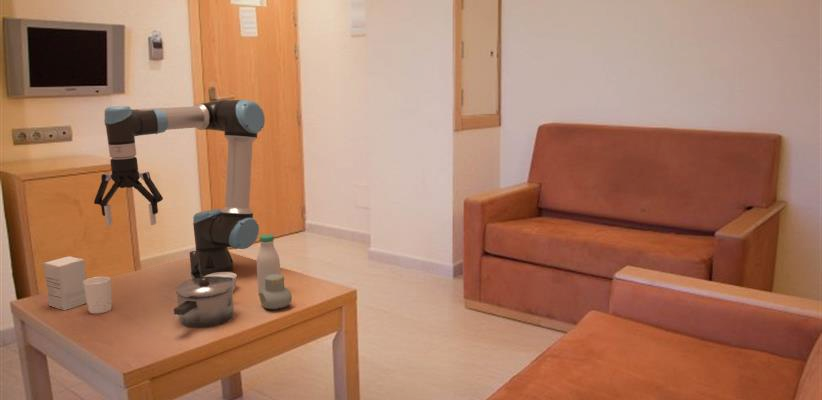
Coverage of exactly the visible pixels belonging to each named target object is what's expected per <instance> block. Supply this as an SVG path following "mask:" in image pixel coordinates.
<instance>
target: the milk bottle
mask: <svg viewBox="0 0 822 400" xmlns="http://www.w3.org/2000/svg"><path fill="white" fill-rule="evenodd" d="M274 239H275V238H274V235H273V234H263V235H260V236H259V243H260V247H259V251H258V252H257V256H256V273H257V275H256V276H257V289H258V290H257V291H258V294H259V295H260V293H261V292H262V291H263V290H265V289H266V287H265V277H266V276H268V275H272V274H280V275H282V273H281V263H280V257H279V254H278V252H277V250H276V248H275V246H274V242H275V240H274Z"/></svg>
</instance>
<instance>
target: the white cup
mask: <svg viewBox="0 0 822 400" xmlns="http://www.w3.org/2000/svg"><path fill="white" fill-rule="evenodd" d="M111 282H112V281H111V277H109V276H94V277H90V278H87V280H85V281H83V285H84V291H85V296H86V301H87V303H86V304H87V309H88V310H87V311H88V313H90V314H103V313H106V312H109V311H111V309H112V307H113V305H112V298H113V297H112V284H111Z"/></svg>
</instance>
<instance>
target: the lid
mask: <svg viewBox="0 0 822 400" xmlns="http://www.w3.org/2000/svg"><path fill="white" fill-rule="evenodd" d="M189 262H190V277H191V279H188V280H184V281H182V282H180V283H178V284H177V285H176V286H175V294H176V296H177V295H179V296H182V297H189V298H200V297H209V296H214V295H218V294H222V293H224V292H227V291H229V290H230V289H231V288H232V287H233V282H232V280H231V279H229V278H226V277H218V276H209V277H205V276H204V275H202V274H201V273H200V261H199V251H196V250H191V251H189Z"/></svg>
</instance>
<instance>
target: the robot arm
mask: <svg viewBox="0 0 822 400" xmlns="http://www.w3.org/2000/svg"><path fill="white" fill-rule="evenodd" d="M265 121H266V118H265V113H264V111H263V109H262V108H261V106H260V104H258V103H257V102H256V101H254V100H247V99H233V100H232V99H231V100H230V99H222V100H215V101H210V102H203V103H202V102H201V103H196V104H195V105H193V106H177V107H157V108H155V107H154V108H138V109H131V106H127V105H120V106H118V105H116V106H108V107H106V108H105V109H104V126H105V131H106V137H107V144H108V151H109V158H111V159H110V160H109V162H110V170H111V174H109V173H107V172H106V173H105V172H104V173H103V174H101V176H100V177H101V182H100V184H99V188H98V190H97V193H96V196H95V198H94V200H93V204H95V205H99V206H100V207H101V214H102V216H103V217H105V224H106V228H107V227H109V228H110V227H111V226H113V223H114V222H113V216H112V210H111V204H109V202H110V201H111V199H112V198H113V197H114V195H115V193H116V192H117V191H118V190H119V188H120V189H124V188H128V189H132V188H134V189H135V190H137V191H138V192H139V193H140V194H141V195H142V196H143V197H144V198H145V199H146V200H147V202H149V204H148V211H149V213H148V214H149V221H150V226H154V225H156V224H157V214H158V213H159V209H158V203H160V202H161V201H163V200H164V197H163V196H162V193H160V191H159V189H158V188H157V187H156V185H155V183H154V182H153V180H152V178H151V176H150V175H151V174H150V172H149V171H145V172H141V173H140V172H139V166H138V158H137V157H136V156H137V148H136V147H137V146H136V138H135V137H138V136H148V135H157V134H160V133H161V134H162V133H165V132H166V131H167V130H179V129H181V130H182V129H183V130H184V129H195V128H196V129H197V130H200V131H205V130H208V131H209V130H210V131H218V132H223V135H224V138H225V139H226V140H227V141H228V142H227V143H228V144H227V160H226V161H227V163H226V165H227V166H226V183H225V184H226V185H225V198H224V199H225V201H224V202H225V204H224V207H223V208H219V209H218V208H217V209H216V208H215V209H211V210H210V209H209V210H208V209H207V210H204V211H200V212H197V213H195V214H194V215H193V223H192V225H193V233H194V234H193V235H194V236H193V237H194V243H195V251H199V261H200V273H201V274H202V276H206V275H209V274H212V273H218V272H232V271H233V269H235V265H234V261H233V258H232V255H231V253H230V251H229V248H232V249H233V250H234V249H235V250H237V249H238V250H245V249H249V248H250V247H251V246H253V244H254V243H256V241H257V239H258V236H259V233H260V227H259V224H258V222H257V220H255V219H254V211H252V209H251V208H250V199H251V198H250V197H251V179H252V178H251V177H252V163H253V158H252V157H253V143H254V142H255V141H256V140H257V139H258V133H260V132H261V131H263V129H262V128H264V127H265ZM140 178H141V180H143V181H144V184H145V185H146V187H147V188H148V189H147V188H146V187H145V186H144V185H143V184H142V182H141V181H139V180H140ZM111 180H112V181H113V182H114V183H113V184H112V185H111V188H110V189H109V190H108V192H107V193H106V195H105V192H106V190H107V187H108V185H109V181H111ZM104 195H105V196H104Z"/></svg>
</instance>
